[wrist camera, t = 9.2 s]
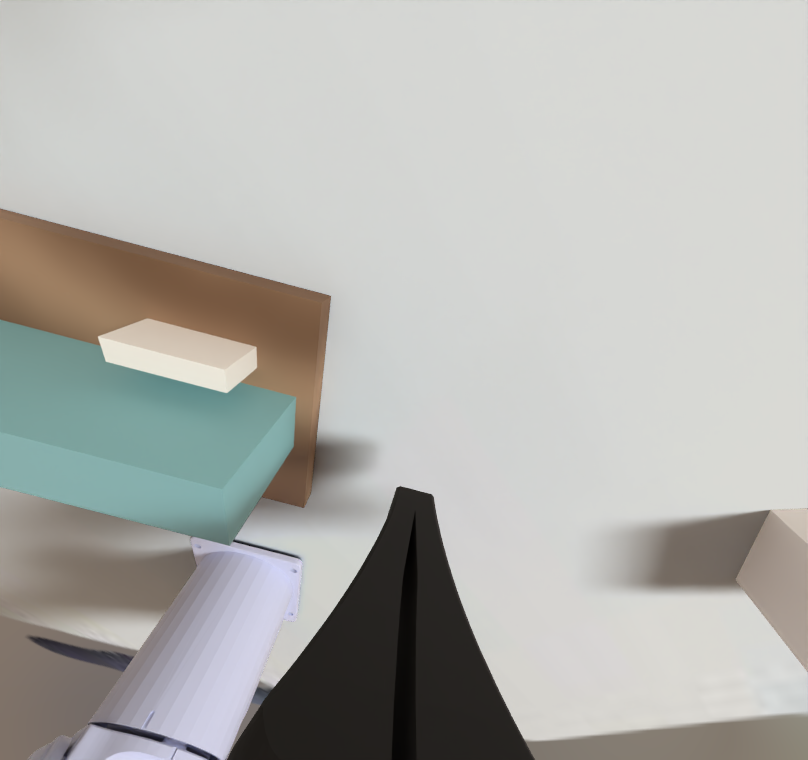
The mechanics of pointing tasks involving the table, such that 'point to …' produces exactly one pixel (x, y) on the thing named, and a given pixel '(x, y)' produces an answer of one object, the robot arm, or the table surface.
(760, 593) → the beige cube
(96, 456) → the slat
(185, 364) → the end caps
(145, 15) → the table surface
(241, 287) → the walnut board
